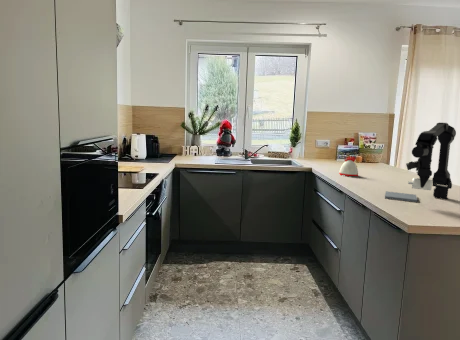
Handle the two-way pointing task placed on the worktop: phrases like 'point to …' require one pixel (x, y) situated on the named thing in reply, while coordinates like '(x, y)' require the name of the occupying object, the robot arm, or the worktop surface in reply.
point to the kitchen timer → (349, 168)
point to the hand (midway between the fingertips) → (421, 186)
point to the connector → (417, 184)
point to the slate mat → (401, 196)
